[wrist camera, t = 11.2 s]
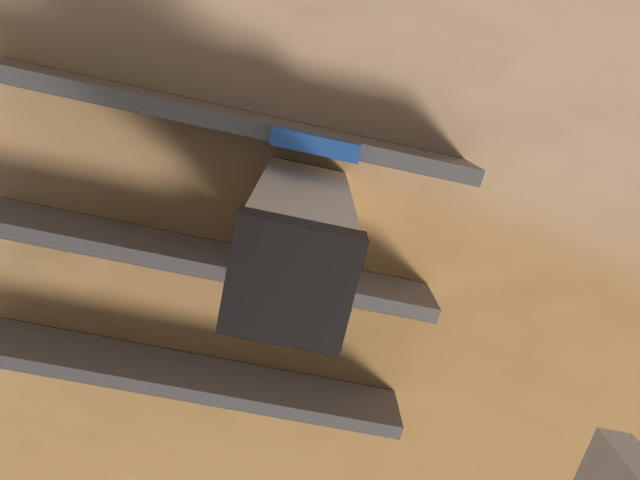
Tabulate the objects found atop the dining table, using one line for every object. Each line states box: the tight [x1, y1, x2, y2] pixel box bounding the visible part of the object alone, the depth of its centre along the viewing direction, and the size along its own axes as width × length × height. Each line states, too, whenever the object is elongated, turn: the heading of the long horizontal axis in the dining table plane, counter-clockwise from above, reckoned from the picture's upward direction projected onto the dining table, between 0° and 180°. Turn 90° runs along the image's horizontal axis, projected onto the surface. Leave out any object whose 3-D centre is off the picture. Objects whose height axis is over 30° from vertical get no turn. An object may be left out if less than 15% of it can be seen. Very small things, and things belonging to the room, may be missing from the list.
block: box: [215, 157, 369, 357], centre depth 22 cm, size 4×4×12 cm
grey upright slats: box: [0, 57, 485, 440], centre depth 27 cm, size 24×15×4 cm, turn 78°
